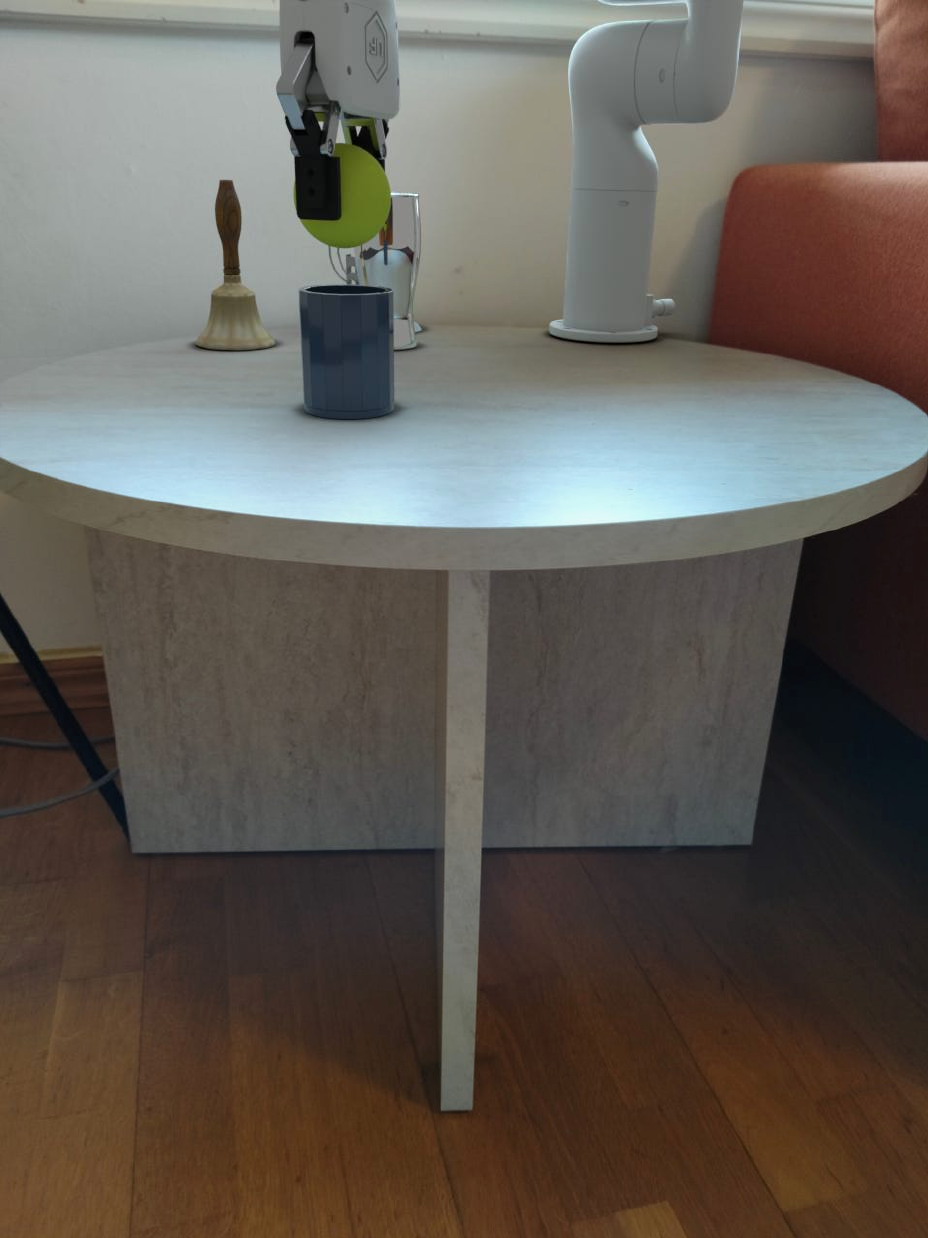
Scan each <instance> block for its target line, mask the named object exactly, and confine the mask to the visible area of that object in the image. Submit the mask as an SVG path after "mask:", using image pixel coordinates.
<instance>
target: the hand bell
mask: <svg viewBox="0 0 928 1238" xmlns="http://www.w3.org/2000/svg"><path fill="white" fill-rule="evenodd" d="M214 204H215V205H214V216H215V217H214V218H215V224H216V225H215V226H216V229H217V233H218V236H219V239H220V241H221V242H220V243H221V246H222V261H223V263H222V264H223V269H222V270H223V271H222V272H223V282H222V284H221V285H219V286H218V287H217V288H215V289H213V290H212V291H211V293H210V308H209V315H208V320H207V323H206V325H205V327H204V329H203V331H201V333H200V334H199V336H198V337H197V338H196V340H195V345H196V346H198V347H200V348H204V349H208V350H209V349H210V350H216V351H218V350H220V351H252V350H261V349H268V348H272V347H274V346H275V345H276V343H277V342H276V340H275V338H274V337H273V336H272V335H271V334H270V333H269V332H268V330H267V329H266V327H265V325H264V323H263V321H262V319H261V317H260V312H259V309H258V305H257V300H256V294H255V292H254V291H253V290H252V289H250V288H248V287H246V286H245V285H244V284H243V282H242V278H241V273H242V272H241V268H240V254H239V243H240V239H241V233H242V225H243V224H242V222H243V221H242V220H243V219H242V217H243V216H242V207H241V203H240V199H239V197H238V194H237V191H236V188H235V185H234V181H233V179H219V183H218V189H217V193H216V198H215V203H214Z"/></svg>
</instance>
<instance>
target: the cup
mask: <svg viewBox="0 0 928 1238" xmlns="http://www.w3.org/2000/svg"><path fill="white" fill-rule="evenodd" d="M297 292H298V307H299V308H298V310H299V331H300V351H301V353H300V355H301V369H302V370H301V373H302V374H301V375H302V376H301V377H302V395H303V397H302V399H303V410H304V411H305V412H306V413H307V414H308V415H311V416H315V417H319V418H325V419H334V420H335V419H336V420H361V419H372V418H378V417H383V416H386V415H389V414H391V413H392V412H393V411H394V410H395V409H394V408H395V404H394V403H395V350H394V304H393V290H392V289H390V288H386V287H381V286H371V285H356V284H354V285H350V284H347V283H346V284H342V283H341V284H339V283H337V284H335V283H334V284H315V285H305V286H303V287H299V288H298V291H297Z"/></svg>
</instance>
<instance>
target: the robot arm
mask: <svg viewBox="0 0 928 1238" xmlns="http://www.w3.org/2000/svg"><path fill="white" fill-rule="evenodd" d="M597 1H598V2H600V3H602V4H606V5H610V6H645V5H646V6H648V5H661V4H678V3H679V4H680V3H684V4H685V5H686V8H687V16H688V18H674V19H673V18H672V19H642V20H639V19H638V20H624V21H623V20H622V21H615V22H607V23H604V24H600V25H596V26H594V27H592V28H590V29H589V30H587V31H586V32H585V33H583V34H582V35H581V36H580V37H579V38H578V39H577V41H576V42H575V43H574V46H573V48H572V50H571V53H570V57H569V61H568V72H567V73H568V74H567V79H568V91H569V93H568V94H569V101H570V102H569V103H570V114H571V127H572V156H571V157H572V161H571V164H572V165H571V177H570V178H571V182H570V193H569V195H570V196H569V209H568V213H569V214H568V227H567V229H568V231H567V245H566V246H567V247H566V260H565V277H564V291H563V293H564V294H563V309H562V310H563V311H562V319H556V320H552V321H551V322H549V325H548V332H549V334H550V335H552V336H554V337H557V338H561V339H565V340H571V341H580V342H590V343H609V344H611V343H613V344H616V343H618V344H619V343H620V344H621V343H639V342H640V343H641V342H647V341H653V340H654V339H656V338H657V337H658V334H659V333H658V331H659V328H658V326H657V325H655V324H652V320H653V319H655V318H656V317H665V316H667V317H668V316H672V315H673V314H674V313H675V311H676V302H675V301H674V299H672V298H659V299H657V300H656V299H655V297H654V296H655V295H654V294H650V293H649V294H648V292H649V283H650V272H651V262H652V261H651V259H652V250H653V239H654V229H655V219H656V218H655V217H656V210H657V209H656V208H657V196H658V191H659V190H658V189H659V177H660V175H659V166H658V161H657V159H656V156H655V154H654V152H653V149H652V148H651V146H650V144H649V142H648V141H647V139H646V137H645V134H644V133H643V129H642V126H651V125H701V124H702V125H703V124H707V123H713V122H714V121H716V120H718V119H719V118H721V117H722V116H723V115H724V114H725V113H726V112H727V110H728V108H729V106H730V104H731V103H732V99H733V96H734V91H735V87H736V82H737V75H738V69H739V67H738V66H739V59H740V45H741V36H742V35H741V34H742V33H741V32H742V23H743V11H744V10H743V9H744V1H745V0H597ZM396 3H397V2H396V0H279V55H280V56H279V58H280V59H279V61H280V76H279V78H278V80H277V83H276V85H275V91H276V95H277V98H278V101H279V104H280V106H281V108H282V111H283V113H284V120H285V126H286V128H287V131H288V132H289V134H290V140H289V149H290V153H291V155H292V156H293V163H294V182H295V188H296V208H295V211H296V216H297V218H298V219H299V220H300V219H303V220H327V221H337V220H339V219H340V218H341V175H340V157H329V156H333V154H334V150H335V144H336V143H337V138H338V131H339V126H340V124H341V128H342V133H343V138H344V143H347V144H351V145H355V146H357V147H360V148H362V149H363V150H365V151H367V152H368V153H369V154H371V155H372V156H373V157H374V158H375V159H376V160H377V161H378V163H379V164H380V165H381V167H382V168H383V170H384V172H385V173H386V159H387V156H388V146H387V140H386V139H387V137H388V135H389V132H390V127H389V122H390V120H393V119H394V118H395V117H396V116H397V115H398V114H399V112H400V110H401V77H400V51H399V33H398V18H397V17H398V15H397V4H396ZM319 122H321V123H322V127H321V125H320V123H319ZM357 127H360V129H359V132H358V131H357Z"/></svg>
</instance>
